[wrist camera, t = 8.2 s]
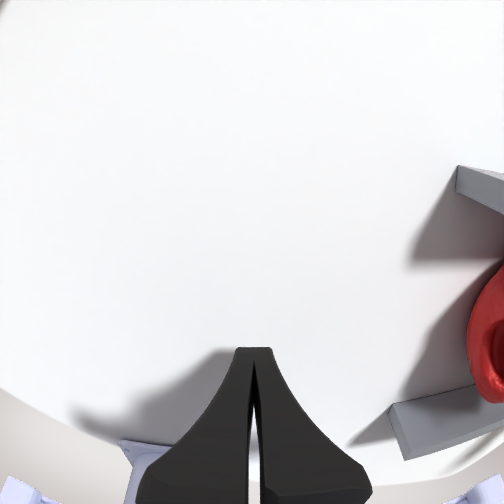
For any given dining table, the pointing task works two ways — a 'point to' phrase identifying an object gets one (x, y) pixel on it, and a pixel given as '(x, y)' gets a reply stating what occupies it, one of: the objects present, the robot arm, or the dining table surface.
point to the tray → (461, 400)
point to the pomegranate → (488, 340)
